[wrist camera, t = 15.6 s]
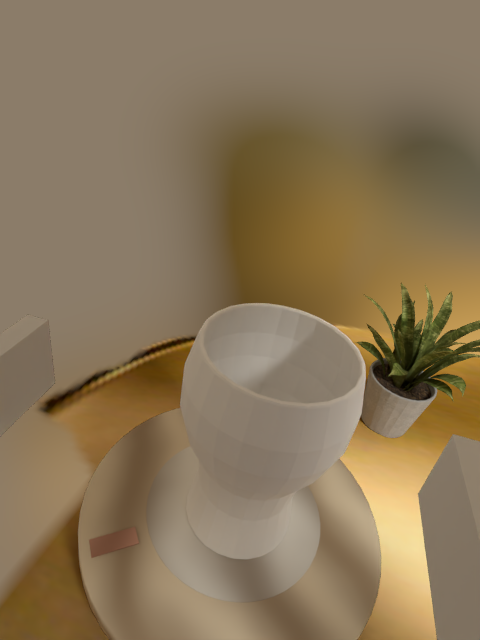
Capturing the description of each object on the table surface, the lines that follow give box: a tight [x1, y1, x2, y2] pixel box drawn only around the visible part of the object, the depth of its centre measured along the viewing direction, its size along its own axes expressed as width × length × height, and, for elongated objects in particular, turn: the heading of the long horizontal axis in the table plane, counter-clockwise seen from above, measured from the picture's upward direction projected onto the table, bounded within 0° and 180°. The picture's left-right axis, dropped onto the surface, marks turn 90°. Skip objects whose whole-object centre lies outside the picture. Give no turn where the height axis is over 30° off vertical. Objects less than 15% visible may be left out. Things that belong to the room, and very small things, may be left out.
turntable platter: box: [78, 408, 381, 640], centre depth 32 cm, size 22×22×2 cm
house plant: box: [356, 284, 480, 438], centre depth 43 cm, size 14×14×16 cm
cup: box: [180, 303, 366, 560], centre depth 28 cm, size 11×11×15 cm
